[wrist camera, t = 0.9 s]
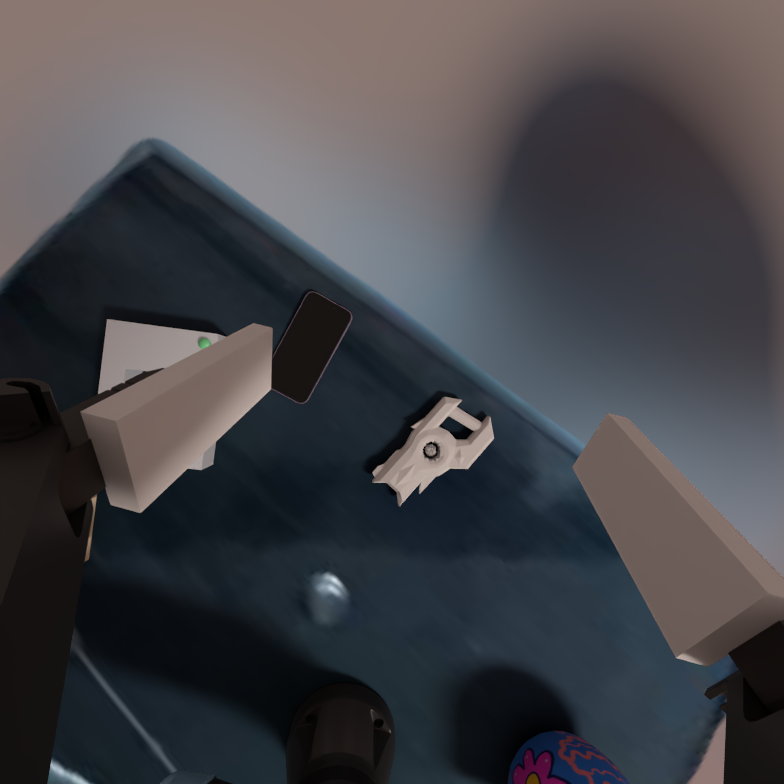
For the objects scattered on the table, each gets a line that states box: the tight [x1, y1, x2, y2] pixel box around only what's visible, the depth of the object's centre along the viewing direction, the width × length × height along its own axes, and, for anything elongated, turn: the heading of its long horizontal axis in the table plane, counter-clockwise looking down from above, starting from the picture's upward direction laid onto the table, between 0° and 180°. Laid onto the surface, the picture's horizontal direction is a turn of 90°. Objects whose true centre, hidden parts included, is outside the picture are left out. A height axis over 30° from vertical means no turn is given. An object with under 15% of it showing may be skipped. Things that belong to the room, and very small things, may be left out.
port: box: [98, 319, 226, 470], centre depth 42 cm, size 18×14×3 cm
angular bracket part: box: [372, 397, 494, 506], centre depth 45 cm, size 18×4×10 cm
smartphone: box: [271, 292, 352, 404], centre depth 45 cm, size 7×1×15 cm
